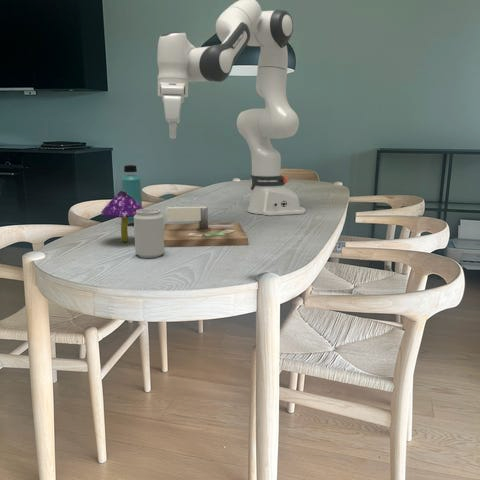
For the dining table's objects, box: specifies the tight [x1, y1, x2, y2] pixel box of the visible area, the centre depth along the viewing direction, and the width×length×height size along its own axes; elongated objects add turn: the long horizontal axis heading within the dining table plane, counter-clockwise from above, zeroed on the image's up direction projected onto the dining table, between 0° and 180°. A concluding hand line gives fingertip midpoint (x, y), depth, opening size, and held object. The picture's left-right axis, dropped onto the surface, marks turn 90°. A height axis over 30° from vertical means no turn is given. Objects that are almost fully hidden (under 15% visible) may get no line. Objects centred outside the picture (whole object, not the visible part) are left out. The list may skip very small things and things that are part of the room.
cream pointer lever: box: [166, 206, 233, 230], centre depth 146 cm, size 20×3×7 cm, turn 97°
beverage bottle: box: [121, 164, 143, 223], centre depth 161 cm, size 6×7×20 cm
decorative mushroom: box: [100, 190, 145, 243], centre depth 138 cm, size 12×12×15 cm
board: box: [164, 222, 249, 248], centre depth 146 cm, size 24×22×2 cm
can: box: [133, 208, 165, 259], centre depth 125 cm, size 8×8×12 cm
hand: (173, 138), depth 144 cm, fingers open, 8 cm apart
